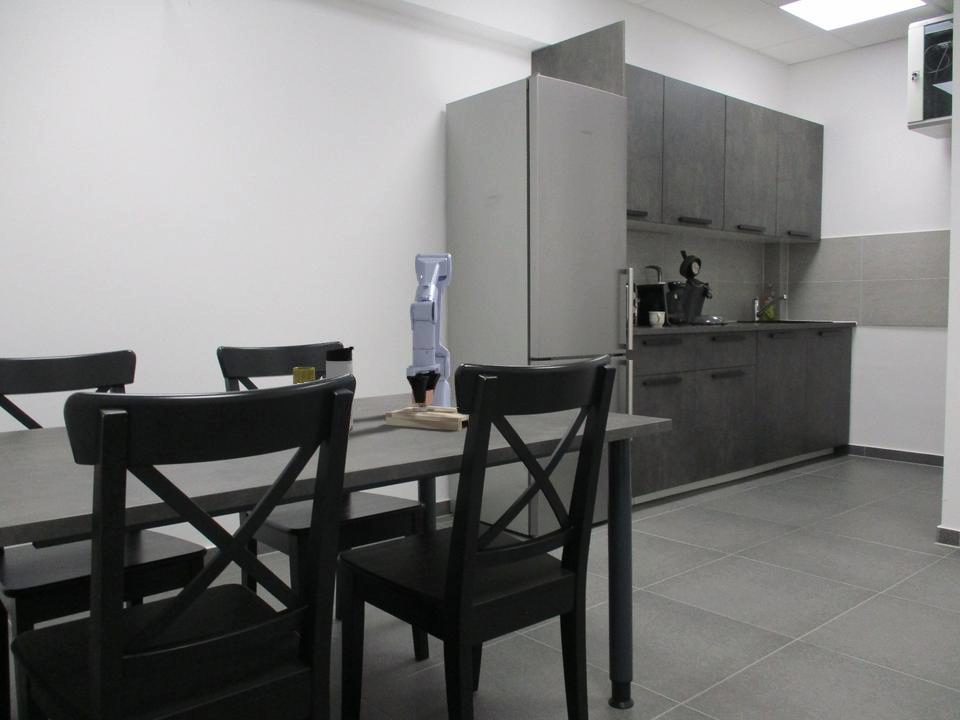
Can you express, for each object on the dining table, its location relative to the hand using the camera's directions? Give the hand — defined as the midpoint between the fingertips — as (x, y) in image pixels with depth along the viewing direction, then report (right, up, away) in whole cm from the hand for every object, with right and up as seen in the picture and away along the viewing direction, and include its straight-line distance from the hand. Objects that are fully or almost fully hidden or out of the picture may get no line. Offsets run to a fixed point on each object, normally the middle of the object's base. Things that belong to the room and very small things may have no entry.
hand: (423, 401), depth 204 cm
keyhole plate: (+3, -5, -1) cm, 6 cm away
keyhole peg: (0, -5, +1) cm, 5 cm away
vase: (-29, -6, -5) cm, 30 cm away
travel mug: (-19, -6, -12) cm, 23 cm away
